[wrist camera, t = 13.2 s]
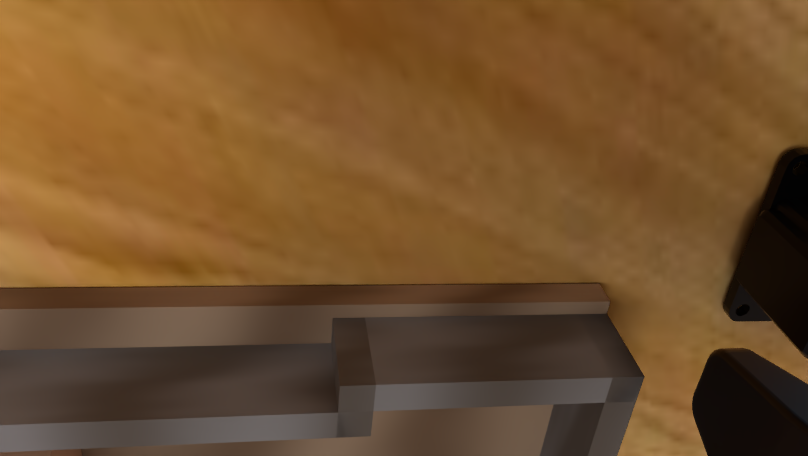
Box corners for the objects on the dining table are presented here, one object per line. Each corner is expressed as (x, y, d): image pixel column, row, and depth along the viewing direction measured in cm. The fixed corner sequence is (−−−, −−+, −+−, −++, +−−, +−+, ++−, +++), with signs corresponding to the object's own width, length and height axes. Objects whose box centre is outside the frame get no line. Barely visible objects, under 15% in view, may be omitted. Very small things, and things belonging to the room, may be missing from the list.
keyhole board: (599, 283, 26) (648, 363, 22) (542, 484, 31) (575, 574, 27) (-125, 289, 22) (-198, 387, 18) (-51, 518, 27) (-97, 628, 23)
